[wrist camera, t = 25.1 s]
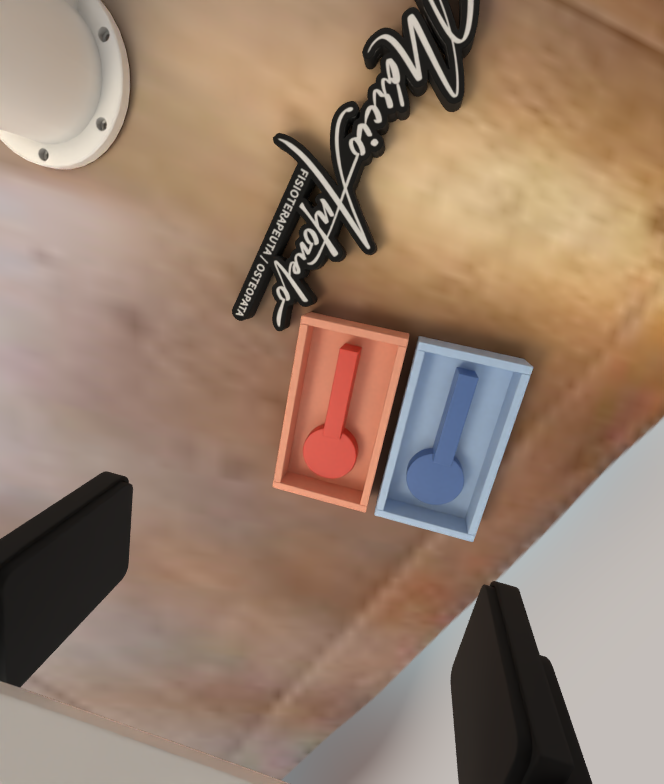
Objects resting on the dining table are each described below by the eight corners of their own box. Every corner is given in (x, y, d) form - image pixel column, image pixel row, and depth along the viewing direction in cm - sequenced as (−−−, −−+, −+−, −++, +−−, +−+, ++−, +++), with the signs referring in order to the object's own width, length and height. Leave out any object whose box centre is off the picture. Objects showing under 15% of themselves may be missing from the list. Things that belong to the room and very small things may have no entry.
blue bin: (418, 335, 33) (418, 341, 30) (524, 358, 32) (533, 366, 29) (377, 498, 37) (374, 515, 35) (469, 523, 36) (473, 542, 34)
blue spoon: (436, 361, 33) (437, 368, 31) (495, 375, 32) (501, 383, 30) (400, 489, 36) (399, 503, 34) (454, 503, 36) (456, 518, 33)
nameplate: (386, -133, 25) (542, -49, 24) (388, -111, 26) (534, -31, 26) (204, 300, 34) (317, 366, 33) (213, 299, 35) (321, 361, 35)
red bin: (310, 311, 34) (301, 315, 31) (409, 333, 33) (408, 339, 30) (281, 472, 38) (272, 487, 36) (369, 496, 37) (365, 513, 35)
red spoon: (325, 338, 34) (319, 343, 32) (381, 351, 33) (379, 356, 31) (301, 465, 37) (295, 476, 35) (352, 478, 37) (348, 491, 34)
